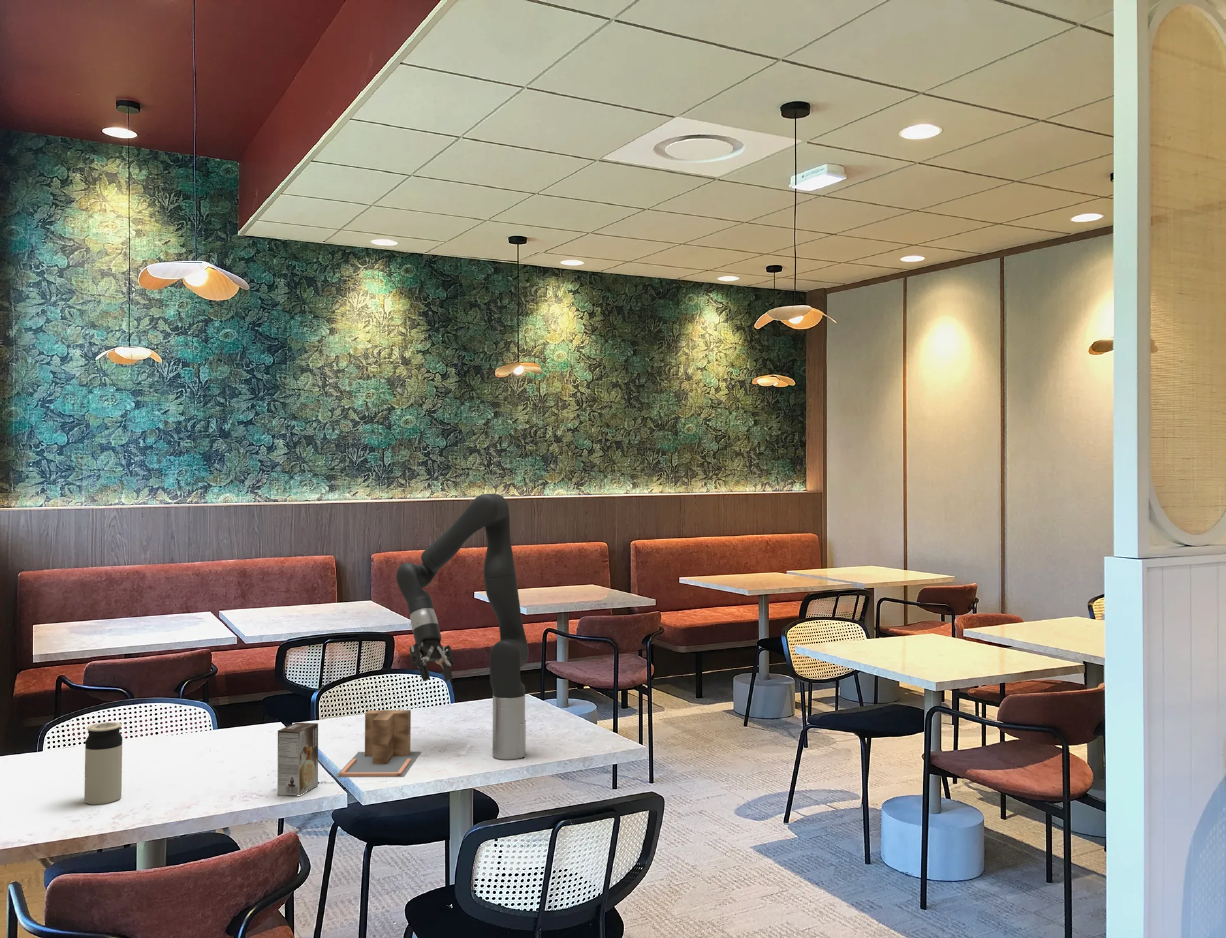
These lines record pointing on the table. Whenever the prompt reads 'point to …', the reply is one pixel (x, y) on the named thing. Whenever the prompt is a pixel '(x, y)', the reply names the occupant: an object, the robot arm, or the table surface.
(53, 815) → the table surface
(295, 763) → the coffee box
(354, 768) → the board
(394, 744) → the t block
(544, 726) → the table surface
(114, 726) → the travel mug
